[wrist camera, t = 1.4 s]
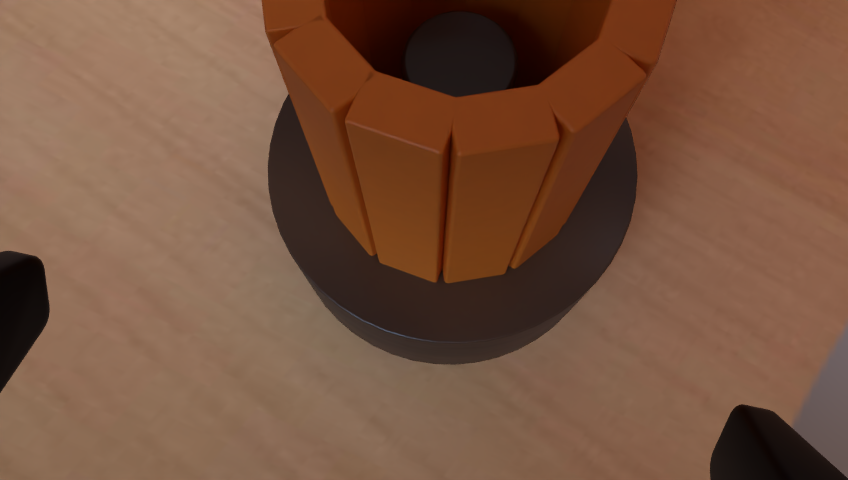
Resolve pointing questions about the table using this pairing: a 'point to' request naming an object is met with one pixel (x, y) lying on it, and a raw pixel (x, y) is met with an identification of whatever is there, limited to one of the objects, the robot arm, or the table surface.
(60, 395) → the table surface
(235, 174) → the table surface
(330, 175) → the orange slatted cup
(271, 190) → the stake stand
